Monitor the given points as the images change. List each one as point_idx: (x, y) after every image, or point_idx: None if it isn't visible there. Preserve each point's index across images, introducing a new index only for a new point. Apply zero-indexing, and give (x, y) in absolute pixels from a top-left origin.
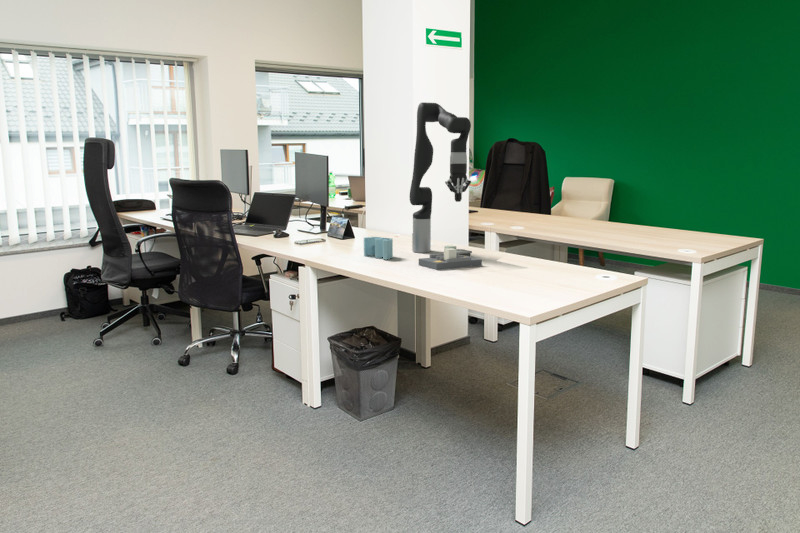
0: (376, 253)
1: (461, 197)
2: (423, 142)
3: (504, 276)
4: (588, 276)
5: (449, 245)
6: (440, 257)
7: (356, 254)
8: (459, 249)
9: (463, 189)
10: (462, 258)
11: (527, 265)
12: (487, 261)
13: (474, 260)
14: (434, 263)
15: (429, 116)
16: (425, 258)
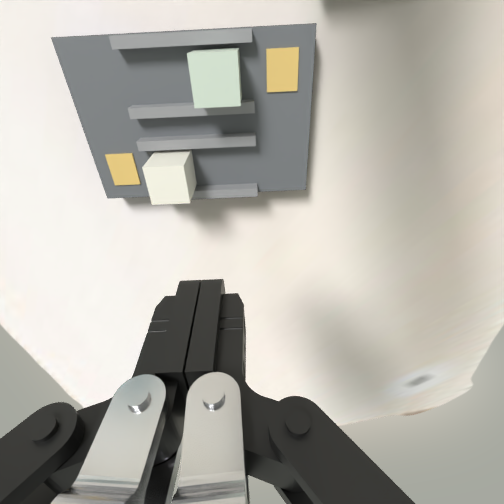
0: None
1: (244, 350)
2: None
3: (251, 322)
4: (398, 370)
5: (220, 54)
6: (138, 147)
7: None
8: None
9: (277, 486)
10: (217, 196)
11: (432, 231)
12: (402, 88)
13: (271, 190)
14: (103, 183)
15: None
16: (88, 49)
